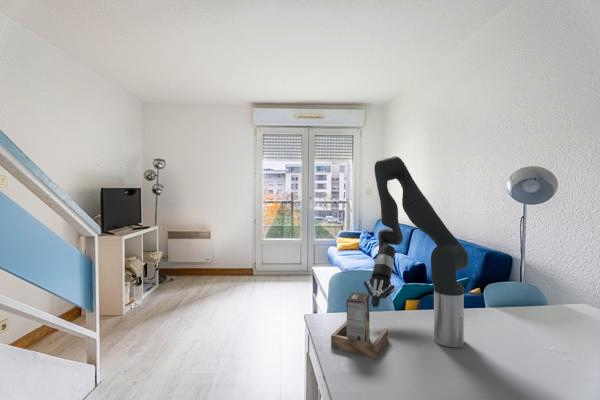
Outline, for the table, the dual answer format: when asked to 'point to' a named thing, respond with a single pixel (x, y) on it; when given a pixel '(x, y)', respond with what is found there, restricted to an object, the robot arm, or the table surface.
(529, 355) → the table surface
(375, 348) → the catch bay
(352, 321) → the coffee box
